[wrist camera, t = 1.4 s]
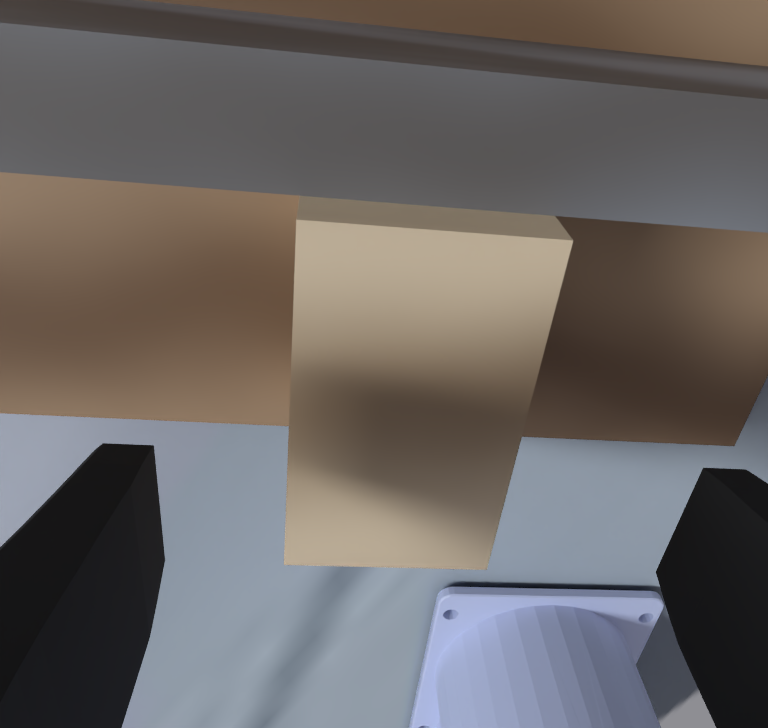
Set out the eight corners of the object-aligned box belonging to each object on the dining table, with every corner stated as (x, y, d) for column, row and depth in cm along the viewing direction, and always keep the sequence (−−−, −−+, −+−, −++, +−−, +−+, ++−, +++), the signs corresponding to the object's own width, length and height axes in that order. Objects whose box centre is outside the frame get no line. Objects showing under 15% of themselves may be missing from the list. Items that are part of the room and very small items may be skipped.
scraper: (688, 429, 19) (791, 577, 14) (28, 397, 17) (-74, 556, 13) (838, 74, 14) (1057, 140, 10) (-60, -21, 12) (-270, 9, 8)
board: (709, 413, 20) (734, 446, 19) (-6, 377, 18) (-32, 411, 17) (1114, -516, 11) (1219, -574, 10) (-291, -811, 9) (-397, -935, 7)
